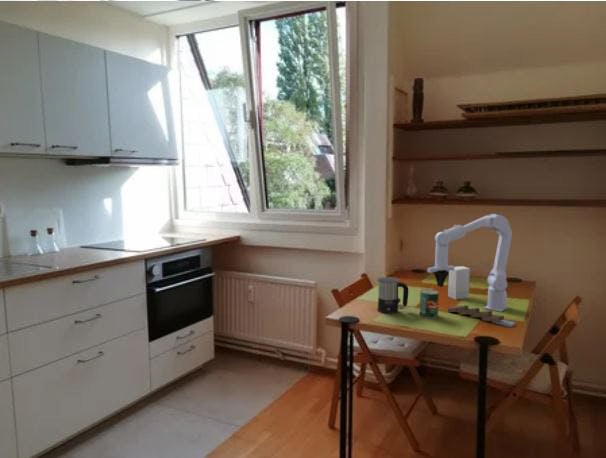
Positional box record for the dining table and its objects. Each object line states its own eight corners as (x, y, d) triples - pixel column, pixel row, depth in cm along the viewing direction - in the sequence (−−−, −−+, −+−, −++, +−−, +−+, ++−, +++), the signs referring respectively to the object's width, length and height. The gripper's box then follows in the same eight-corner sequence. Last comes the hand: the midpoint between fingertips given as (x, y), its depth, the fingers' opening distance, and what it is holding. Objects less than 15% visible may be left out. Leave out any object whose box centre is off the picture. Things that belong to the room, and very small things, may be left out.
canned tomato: (423, 311, 206) (424, 288, 204) (440, 315, 201) (441, 291, 199) (416, 316, 200) (417, 291, 198) (433, 319, 195) (434, 294, 193)
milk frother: (381, 314, 202) (382, 282, 200) (368, 304, 217) (369, 274, 215) (410, 312, 205) (412, 280, 203) (395, 302, 220) (396, 273, 219)
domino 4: (487, 314, 196) (503, 315, 189) (488, 318, 196) (504, 319, 189) (481, 316, 194) (497, 317, 187) (482, 320, 194) (498, 321, 187)
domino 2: (462, 309, 205) (479, 307, 199) (463, 312, 205) (479, 311, 199) (458, 311, 202) (475, 309, 196) (458, 314, 202) (475, 313, 196)
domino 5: (496, 318, 194) (515, 322, 188) (495, 321, 194) (514, 326, 189) (491, 320, 192) (511, 324, 186) (491, 323, 192) (510, 328, 186)
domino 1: (451, 307, 208) (467, 305, 203) (452, 310, 208) (468, 308, 203) (447, 308, 206) (463, 307, 200) (448, 312, 205) (464, 310, 200)
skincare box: (460, 295, 235) (462, 265, 233) (469, 298, 228) (470, 268, 227) (447, 296, 232) (448, 266, 230) (455, 299, 226) (456, 269, 224)
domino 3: (475, 311, 201) (491, 310, 195) (476, 315, 201) (492, 314, 194) (470, 313, 198) (486, 312, 192) (471, 317, 198) (487, 316, 192)
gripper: (435, 260, 204) (433, 289, 206) (459, 258, 210) (458, 286, 212) (424, 257, 211) (423, 286, 212) (448, 255, 217) (447, 283, 218)
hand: (440, 286), depth 213 cm, fingers closed
